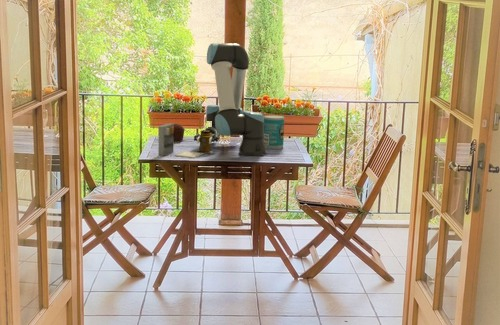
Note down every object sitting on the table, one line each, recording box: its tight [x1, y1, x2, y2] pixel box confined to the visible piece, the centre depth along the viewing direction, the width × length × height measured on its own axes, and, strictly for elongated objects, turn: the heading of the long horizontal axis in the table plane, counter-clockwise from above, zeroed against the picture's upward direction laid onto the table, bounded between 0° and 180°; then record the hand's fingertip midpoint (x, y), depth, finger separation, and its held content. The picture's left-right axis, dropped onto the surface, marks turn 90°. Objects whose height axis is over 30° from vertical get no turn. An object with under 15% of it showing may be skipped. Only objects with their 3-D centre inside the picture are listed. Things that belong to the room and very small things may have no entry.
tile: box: [175, 150, 204, 159], centre depth 392 cm, size 11×11×1 cm
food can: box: [263, 114, 285, 150], centre depth 420 cm, size 12×12×18 cm
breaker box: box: [158, 122, 175, 157], centre depth 391 cm, size 4×12×16 cm, turn 160°
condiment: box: [194, 129, 214, 155], centre depth 400 cm, size 7×8×12 cm
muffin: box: [173, 123, 186, 143], centre depth 433 cm, size 12×11×10 cm
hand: (203, 141), depth 395 cm, fingers closed on condiment, 6 cm apart
